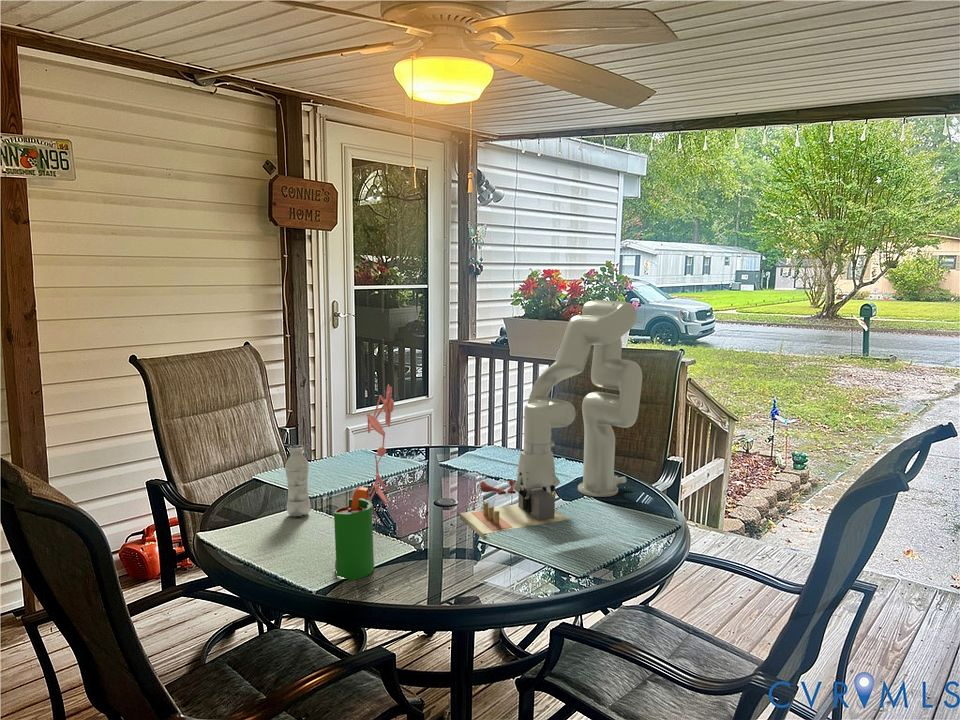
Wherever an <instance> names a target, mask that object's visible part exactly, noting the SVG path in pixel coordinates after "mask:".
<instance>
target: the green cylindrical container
mask: <svg viewBox="0 0 960 720" xmlns="http://www.w3.org/2000/svg"><path fill="white" fill-rule="evenodd" d="M369 492H370V490H369V487H365V486H364V487H363V486H359V487H357V489H356V490H355V491H354V492H353V495H352V497H351V498H348V506H342V507H339V508H337V509H335V511H334V512H333V520H334V540H335V545H334V546H335V547H334V548H335V561H334V568H335V569H336V571H337V574H336V577H337V576H341V577H344V578H347V579H350V580H351V581H352V580H359V579H362V578H365V577H368V576H369V575H371V574H372V573H374V569H375V559H374V555H375V553H374V536H373V535H374V531H373V503H372V502H371V501H369V498H370V496H369V495H370V494H369ZM350 580H349V581H350Z"/></svg>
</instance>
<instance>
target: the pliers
mask: <svg viewBox="0 0 960 720" xmlns="http://www.w3.org/2000/svg"><path fill="white" fill-rule="evenodd" d="M515 482H516V481H514V480H513V479H508V485H509V486H510V487H509V489H508V490H507V491H505V490H503V489H500V488H496V487H494V486H491V485H488V484H487V483H486V482H485V481H484V480H483V481H481V482H480V483H479V487H480V489H481V490H482V491H483V492H484V493H489V492H497V494H498V495H502V494H503V495H504V497H505V498H508V499H509V496H511V498H513V499H514V496H513V494H516V493H517V491H515V490H514V489H513V488H512V487H513V485H514V484H515Z"/></svg>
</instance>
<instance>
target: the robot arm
mask: <svg viewBox="0 0 960 720" xmlns="http://www.w3.org/2000/svg"><path fill="white" fill-rule="evenodd" d="M581 311H582V312H581V314H578V315H574V316H573V317H571V318H570V319H569V321H568V323H567V325H566V328H565V332H564V335H563V338H562V341H561V343H560V344H561V345H560V347H559V350H558V353H557V356H556V359H555V360H554V362H553V363H552V364H551V365H550V366H549V367H548V368H546V369H545V370H544V371H543V372H542V373H541V374H540V375H539V377H538V378H537V379H536V380H535V382H534V384H533V386H532V388H531V392H530V394H529V397H528V400H527V404H526V405H525V407H524V414H523V415H524V417H523V418H524V419H523V451H520V454H519V458H518V465H517V472H516V473H517V474H516V475H517V477H516V481H514V482H515V484H514V485H513V487H512V488H513V489H514V490H513V491H515V492H516V493H518V494H520V495H521V496H522V497H523V509H524V510H525V511H526V512H528V513H530V512H531V499H529V497H530V494H531V490H532V489H535V488H542V489H544V490H545V491H547V492H549V493H550V494H552V493H553V491H554V490H555V489H556V488H557V487H558V486H559V484H560V483H561V480H560V479H559V478H558V477H557V475H556V469H555V468H556V466H555V459H554V453H553V452H554V451H552V447H555V442H554V441H552V429H553V428H564V427H568V426H570V425H571V424H572V423H573V422H574V421H575V419H576V413H577V411H576V408H575V406H574V405H573V404H572V403H571V402H570V401H566V400H562V399H557V398H554V397H548V396H549V394H550V392H551V390H552V389H553V388H554V386H556V385H557V384H558V383H560V382H561V381H564V380H566V379H569V378H571V377H573V376H574V377H575V376H578V375H579V374H581V373H583V372H584V370H585V368H586V364H587V361H588V359H589V355H590V352H591V348H592V346H593V353H592V361H591V362H592V363H591V368H590V369H591V370H590V371H591V372H590V379H591V382H592V384H593V385H594V386H596V387H598V388H603V389H606V390H607V389H608V390H614V391H619V394H616V393H611V392H603V391H592V392H589V393H587V394H586V395H585V396H584V398H583V399H582V403H581V411H582V418H583V426H584V432H583V433H584V434H583V435H584V437H583V439H584V440H583V468H582V469H583V470H582V471H583V472H582V476H583V477H582V482H580V483H579V484H578V485H577V490H578V492H579V493H581V494H582V495H585V496H589V497H595V498H603V497H604V498H607V497H612V496H615V495H617V494H618V493H619V488H618V486H617V485H619V484H625V483H627V477H626V476H618V475H615V455H616V453H615V452H616V435H615V431H614V429H613V427H619V428H631V427H633V425H635V423H636V422H637V419H638V416H639V410H640V402H641V394H642V385H643V372H642V368H641V366H640V365H639V364H638V362H636V361H633V360H631V359H622V348H623V343H622V337H624V335H626V334H627V333H628V332H630V331H631V329H633V327H634V326H635V324H636V322H637V318H638V317H637V316H638V313H637V310H636V307H635V305H634V304H632V303H630V302H628V301H619V300H618V301H617V300H615V301H614V300H604V299H603V300H602V299H601V300H600V299H597V300H596V299H594V300H588V301H587V302H585V303H584V304H583V306H582V309H581ZM612 426H613V427H612ZM521 485H523V489H522V490H521V489H520V486H521Z"/></svg>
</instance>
